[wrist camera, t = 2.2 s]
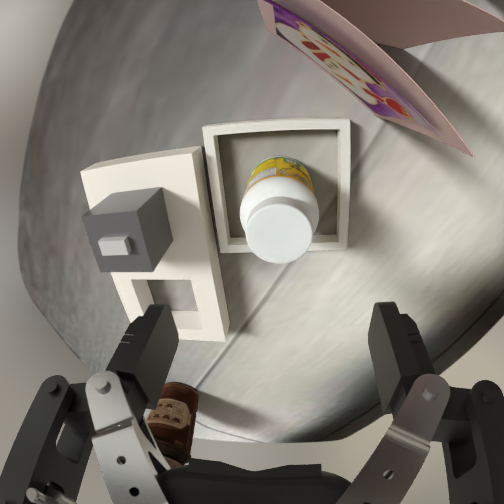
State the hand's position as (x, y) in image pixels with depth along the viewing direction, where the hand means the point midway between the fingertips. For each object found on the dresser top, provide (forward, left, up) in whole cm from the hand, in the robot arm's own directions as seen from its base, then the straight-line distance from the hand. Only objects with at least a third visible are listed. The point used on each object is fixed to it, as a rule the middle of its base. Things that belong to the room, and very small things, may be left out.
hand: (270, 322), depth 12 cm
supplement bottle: (0, 0, -17) cm, 17 cm away
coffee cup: (+17, +32, -17) cm, 40 cm away
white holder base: (+12, +6, -17) cm, 22 cm away
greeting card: (-6, -12, -17) cm, 22 cm away
